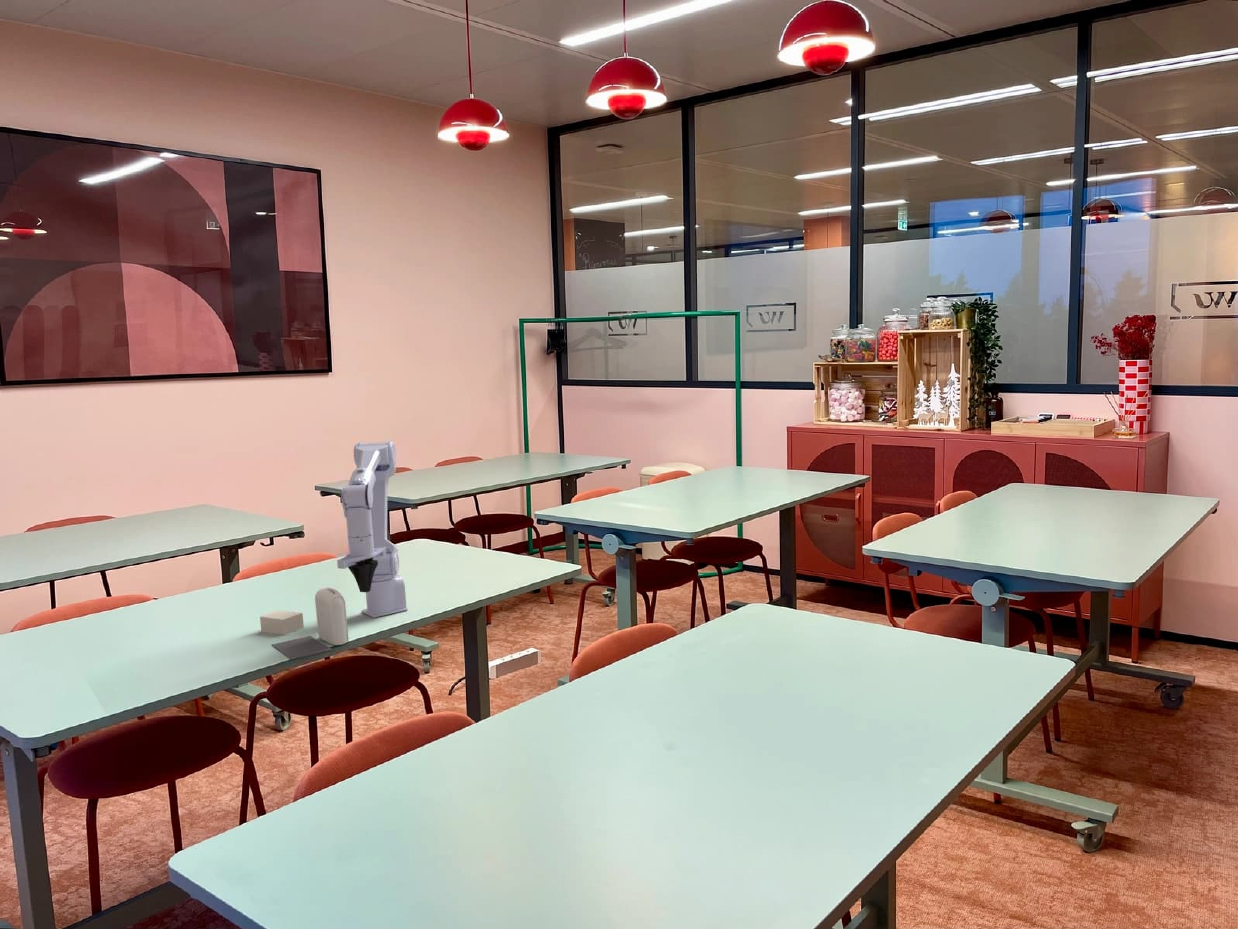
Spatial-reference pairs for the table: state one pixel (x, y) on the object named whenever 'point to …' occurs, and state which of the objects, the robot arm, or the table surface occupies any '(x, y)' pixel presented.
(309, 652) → the mat
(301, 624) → the card box
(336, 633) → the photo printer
